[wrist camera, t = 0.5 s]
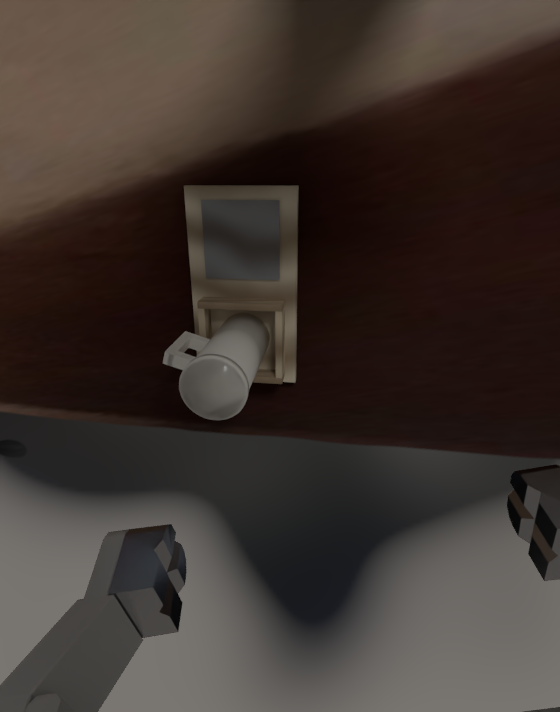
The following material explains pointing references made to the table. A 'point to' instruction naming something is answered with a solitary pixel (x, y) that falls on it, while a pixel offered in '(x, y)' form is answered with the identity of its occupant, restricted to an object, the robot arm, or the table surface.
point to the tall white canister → (220, 366)
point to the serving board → (246, 265)
